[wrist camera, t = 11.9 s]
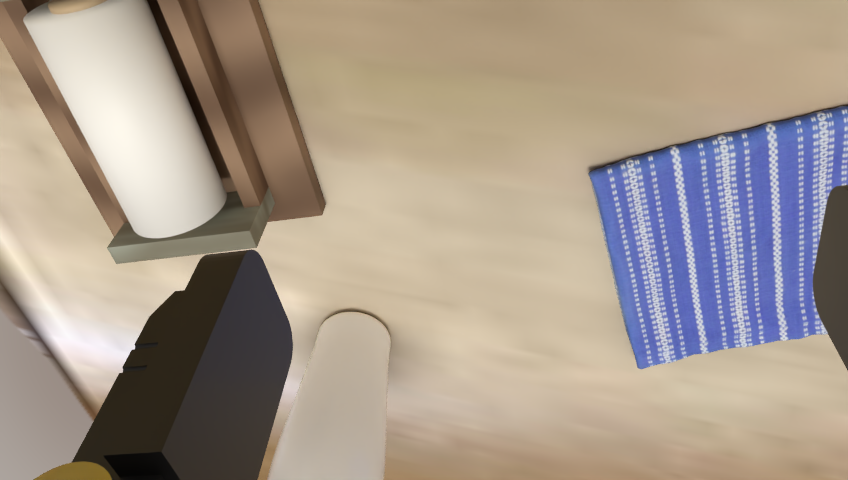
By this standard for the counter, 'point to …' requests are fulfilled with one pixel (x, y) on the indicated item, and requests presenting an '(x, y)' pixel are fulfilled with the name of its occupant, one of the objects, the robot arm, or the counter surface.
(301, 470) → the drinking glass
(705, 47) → the counter surface
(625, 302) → the dish towel
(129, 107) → the roll
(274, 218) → the cradle
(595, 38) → the counter surface
